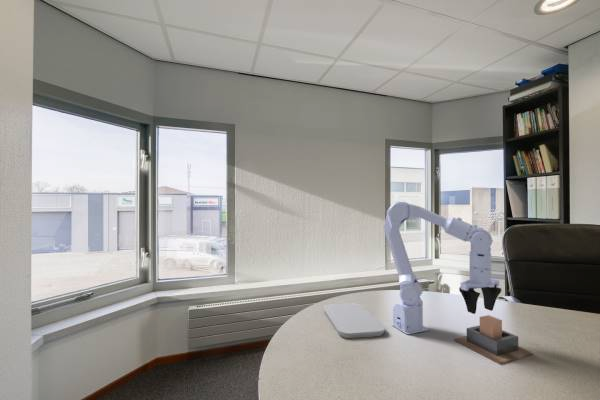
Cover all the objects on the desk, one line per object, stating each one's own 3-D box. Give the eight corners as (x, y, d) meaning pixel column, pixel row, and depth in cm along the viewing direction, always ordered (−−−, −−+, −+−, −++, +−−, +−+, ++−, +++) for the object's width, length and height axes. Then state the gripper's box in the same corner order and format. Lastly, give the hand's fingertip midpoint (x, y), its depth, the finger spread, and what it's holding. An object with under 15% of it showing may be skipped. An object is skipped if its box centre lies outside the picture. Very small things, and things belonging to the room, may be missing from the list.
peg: (492, 349, 81) (492, 322, 81) (479, 343, 85) (479, 316, 85) (502, 347, 82) (501, 320, 82) (488, 341, 86) (488, 315, 86)
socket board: (500, 364, 74) (499, 347, 74) (454, 340, 87) (454, 326, 87) (533, 354, 79) (532, 338, 79) (485, 333, 92) (484, 319, 92)
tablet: (359, 308, 116) (359, 302, 116) (388, 337, 90) (388, 330, 90) (321, 310, 113) (321, 304, 113) (340, 341, 87) (340, 333, 87)
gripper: (475, 272, 80) (475, 319, 80) (509, 268, 85) (509, 312, 85) (454, 266, 87) (454, 310, 87) (486, 263, 92) (486, 304, 92)
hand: (480, 311), depth 86 cm, fingers open, 7 cm apart
